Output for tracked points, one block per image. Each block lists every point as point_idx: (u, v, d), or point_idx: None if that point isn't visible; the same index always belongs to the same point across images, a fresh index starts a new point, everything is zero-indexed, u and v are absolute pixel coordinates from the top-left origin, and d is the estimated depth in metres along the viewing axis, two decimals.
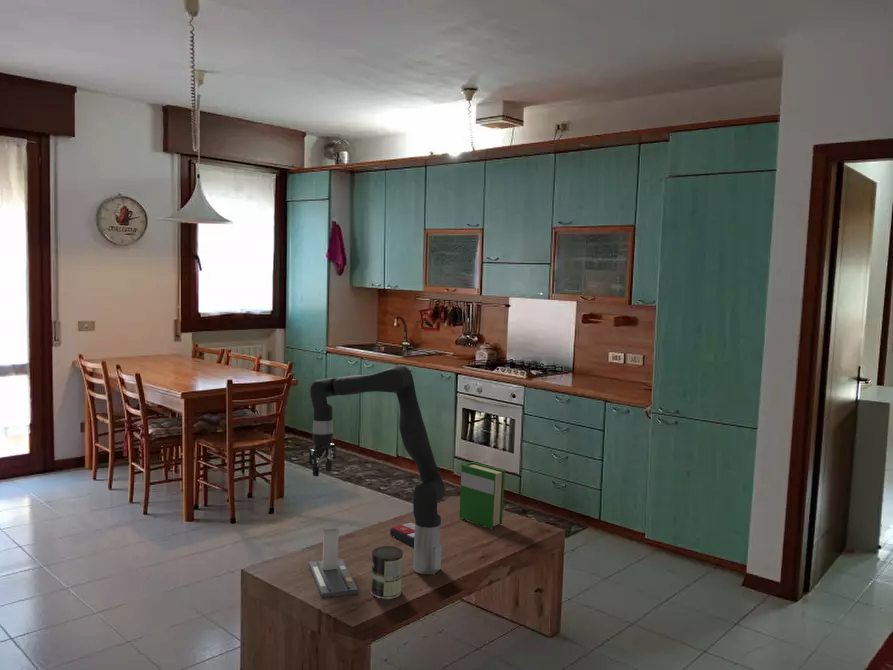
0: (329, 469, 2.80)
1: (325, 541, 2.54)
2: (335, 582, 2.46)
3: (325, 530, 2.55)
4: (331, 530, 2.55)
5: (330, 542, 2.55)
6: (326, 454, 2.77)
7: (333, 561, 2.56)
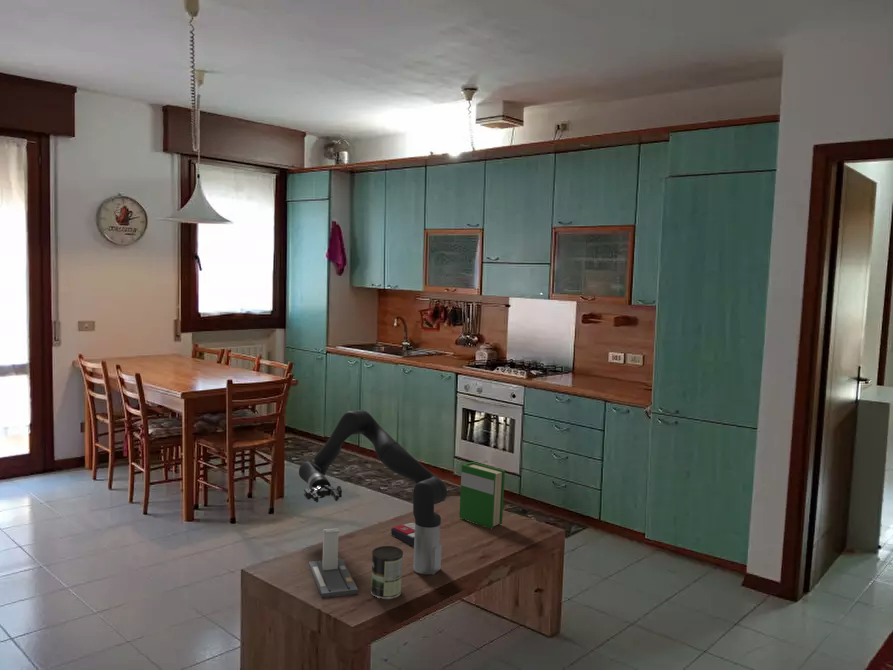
0: (335, 496, 2.64)
1: (325, 541, 2.54)
2: (335, 582, 2.46)
3: (325, 530, 2.55)
4: (331, 530, 2.55)
5: (330, 542, 2.55)
6: (325, 489, 2.70)
7: (333, 561, 2.56)
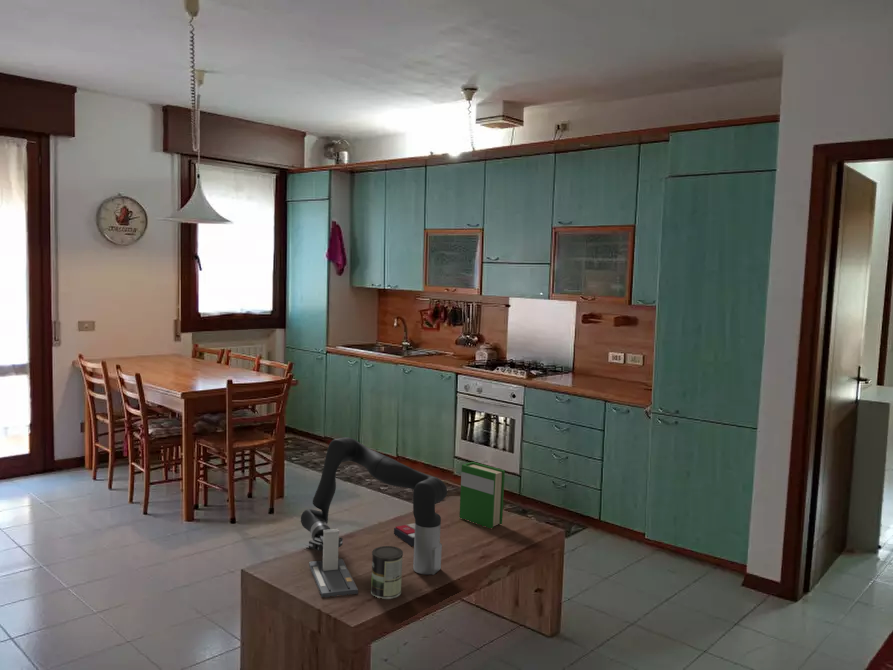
0: None
1: (325, 541, 2.54)
2: (335, 582, 2.46)
3: (325, 530, 2.54)
4: (331, 530, 2.54)
5: (331, 543, 2.54)
6: None
7: (333, 561, 2.55)
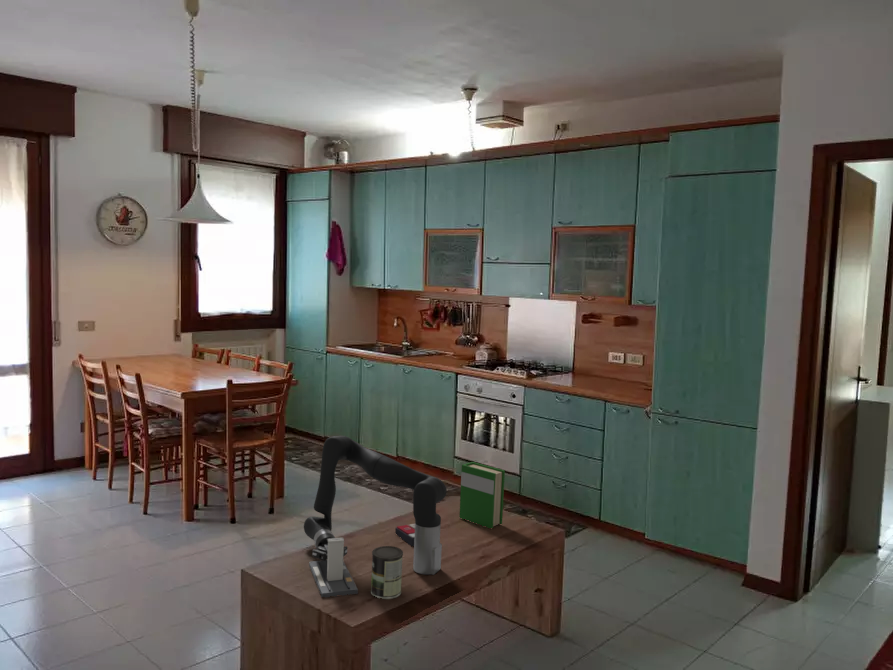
0: None
1: (330, 551, 2.46)
2: (335, 582, 2.46)
3: (330, 539, 2.46)
4: (336, 539, 2.47)
5: (335, 552, 2.46)
6: None
7: (338, 571, 2.47)
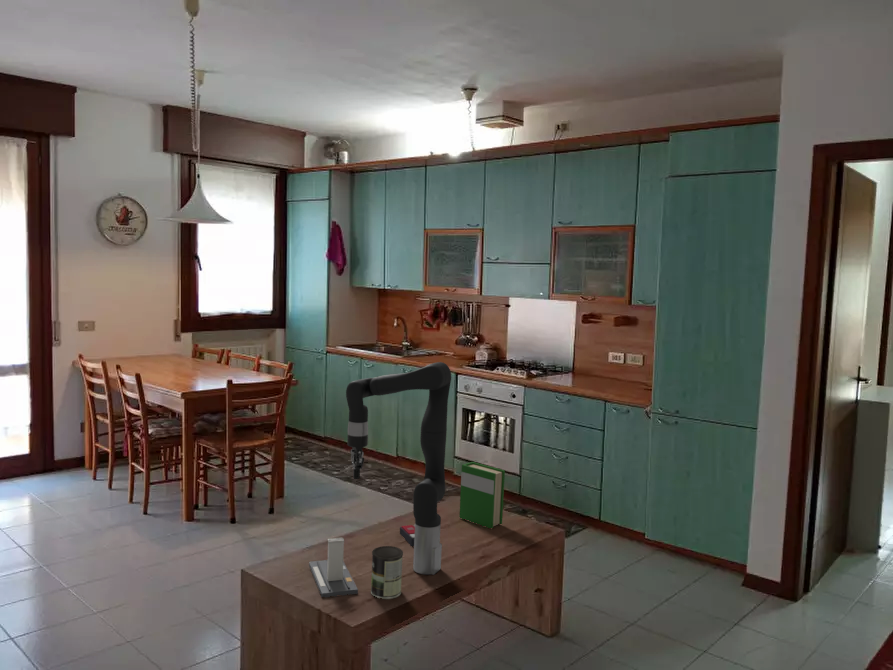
0: None
1: (330, 551, 2.45)
2: (335, 582, 2.46)
3: (330, 540, 2.46)
4: (336, 540, 2.46)
5: (335, 552, 2.46)
6: None
7: (338, 572, 2.47)
